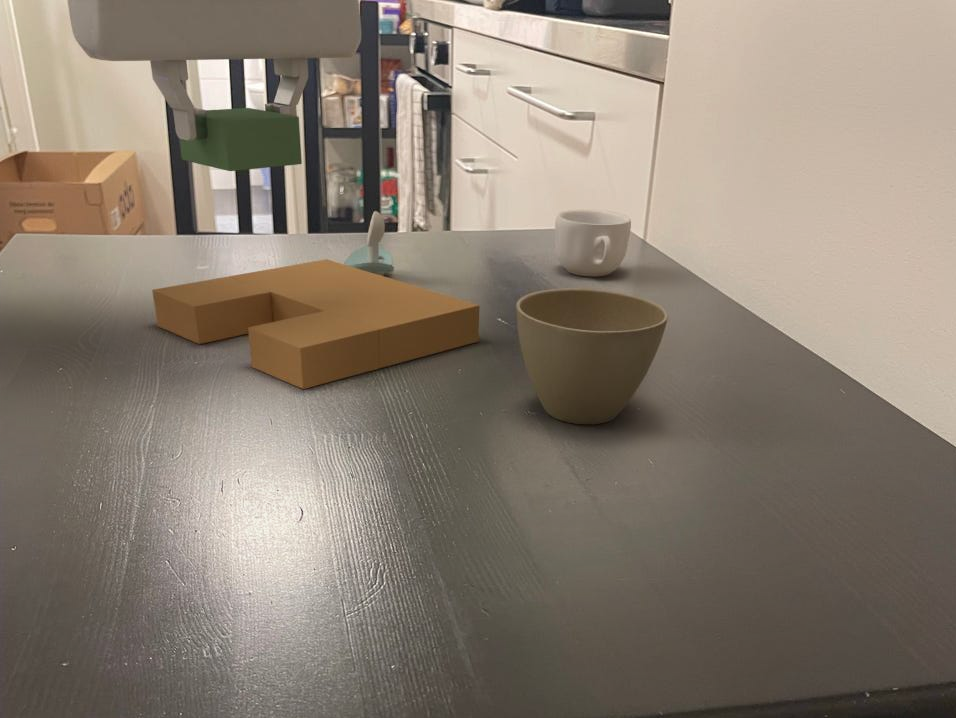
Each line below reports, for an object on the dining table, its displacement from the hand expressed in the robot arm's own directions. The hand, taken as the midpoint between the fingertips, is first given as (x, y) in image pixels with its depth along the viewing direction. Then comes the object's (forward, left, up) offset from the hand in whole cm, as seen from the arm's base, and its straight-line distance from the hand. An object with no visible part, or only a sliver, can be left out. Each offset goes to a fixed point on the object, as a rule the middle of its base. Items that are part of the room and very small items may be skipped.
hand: (238, 135), depth 67 cm
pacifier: (-13, +22, -15) cm, 30 cm away
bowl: (+25, +10, -15) cm, 31 cm away
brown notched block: (-1, +7, -15) cm, 17 cm away
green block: (0, 0, -2) cm, 2 cm away
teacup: (0, +42, -15) cm, 44 cm away
